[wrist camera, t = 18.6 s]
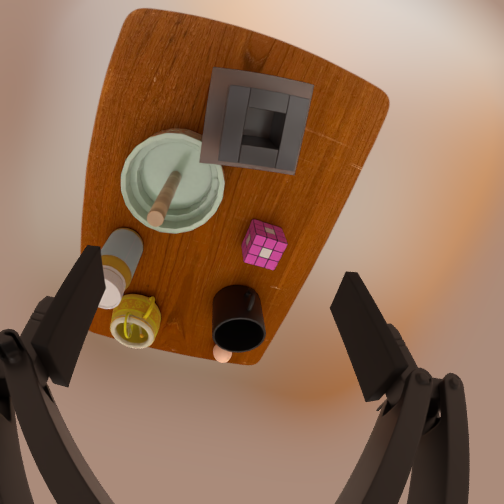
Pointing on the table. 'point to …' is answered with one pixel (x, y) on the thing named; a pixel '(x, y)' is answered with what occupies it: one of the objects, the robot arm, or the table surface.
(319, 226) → the table surface
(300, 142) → the utensil stand
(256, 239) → the puzzle toy
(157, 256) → the table surface
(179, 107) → the table surface
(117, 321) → the mug
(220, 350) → the egg
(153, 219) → the stirring stick
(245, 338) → the mug
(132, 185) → the bowl
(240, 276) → the table surface
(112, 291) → the bottle
